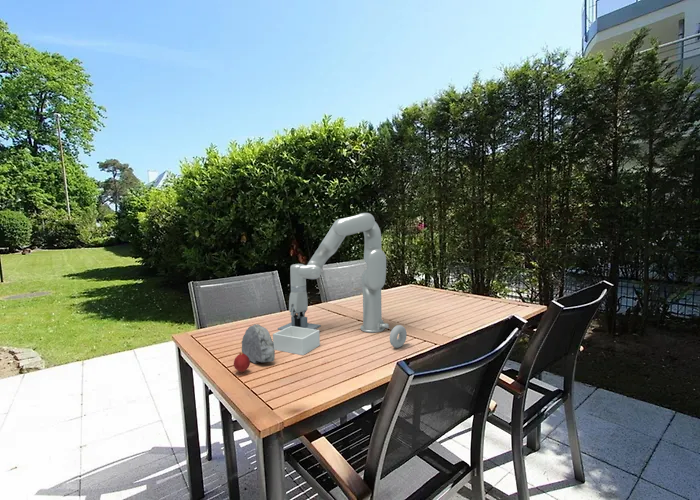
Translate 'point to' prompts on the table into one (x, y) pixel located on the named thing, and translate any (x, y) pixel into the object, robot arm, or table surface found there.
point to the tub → (296, 340)
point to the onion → (241, 362)
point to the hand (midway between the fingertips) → (299, 324)
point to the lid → (303, 324)
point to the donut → (394, 335)
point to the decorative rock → (258, 344)
